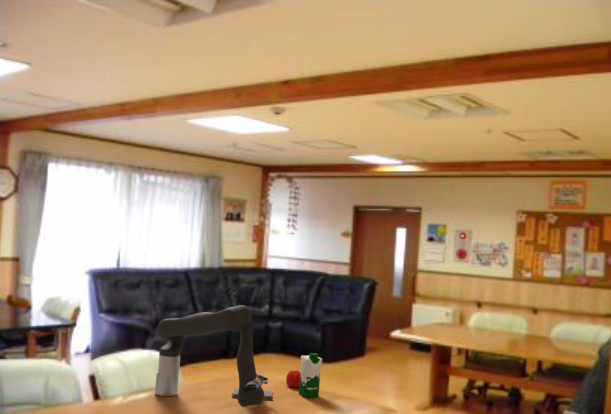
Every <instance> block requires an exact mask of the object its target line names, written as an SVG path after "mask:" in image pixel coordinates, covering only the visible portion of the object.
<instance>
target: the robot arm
mask: <svg viewBox="0 0 611 414" xmlns="http://www.w3.org/2000/svg"><path fill="white" fill-rule="evenodd" d="M237 330H239V333H240V340H239V346H238V350H237V354H236V368H237V374H238V389H239V392H238V398H237V402H238V404H239V406H241V407H242V408H246V407H252V406H257V405H261V404H263V402H264V401H265V400H264V397H265V396H264V391H265V390H264V388H263V386H262V385H263V384H264V385H267V384H268V379H269V378H268V377H266V376H263V375H261V374H259V375H258V373H257V370H256V369H257V368H256V365H255V360H254V359H255V358H254V357H255V356H254V347H253V346H254V345H253V343H254V342H253V338H254V337H253V315H252V312H251V309H250V308H249V307H248V306H247V305H244V304H239V305H236V306H231V307H227V308H226V309H223V310H219V311H217V312H210V311H205V312H204V311H203V312H197V313H194V314H190V315H187V316H182V317H171V318H164V319H162V320H161V321H159V322H158V324H157V326H156V334H157V335H158V337H159V338H160V339H162V340H166V341H167V342H166V344H164V345H162V346H160V348H159V354H158V367H157V372H156V377H155V387H154V388H155V389H154V395H157V396H161V397H174V396H176V395H177V394H178V389H179V388H178V387H179V377H180V376H179V374H180V365H181V353H182V350H183V347H184V340H185V337H188V336H190V337H191V336H192V337H193V336H203V335H208V334H212V333H215V332H217V331H219V332H221V331H229V332H230V331H231V332H232V331H237Z"/></svg>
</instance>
